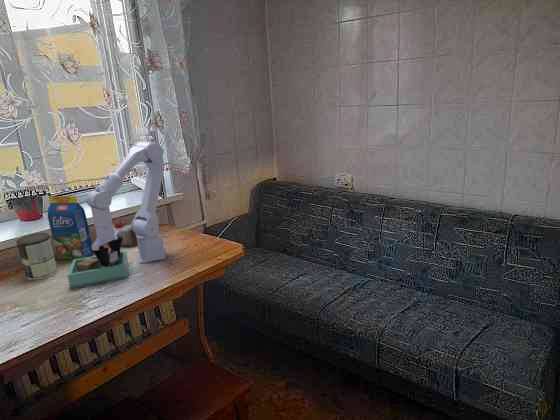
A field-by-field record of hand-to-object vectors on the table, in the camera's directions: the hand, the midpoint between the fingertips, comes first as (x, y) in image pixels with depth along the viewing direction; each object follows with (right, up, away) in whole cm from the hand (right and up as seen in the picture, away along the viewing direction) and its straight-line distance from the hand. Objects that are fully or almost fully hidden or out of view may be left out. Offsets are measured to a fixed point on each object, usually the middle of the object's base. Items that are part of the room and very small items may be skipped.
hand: (111, 261), depth 147 cm
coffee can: (-27, -5, +5) cm, 28 cm away
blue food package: (-22, -1, +19) cm, 29 cm away
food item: (-6, +4, +29) cm, 30 cm away
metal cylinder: (0, -3, +1) cm, 3 cm away
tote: (-4, -5, 0) cm, 6 cm away
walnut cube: (-7, -4, -1) cm, 8 cm away
